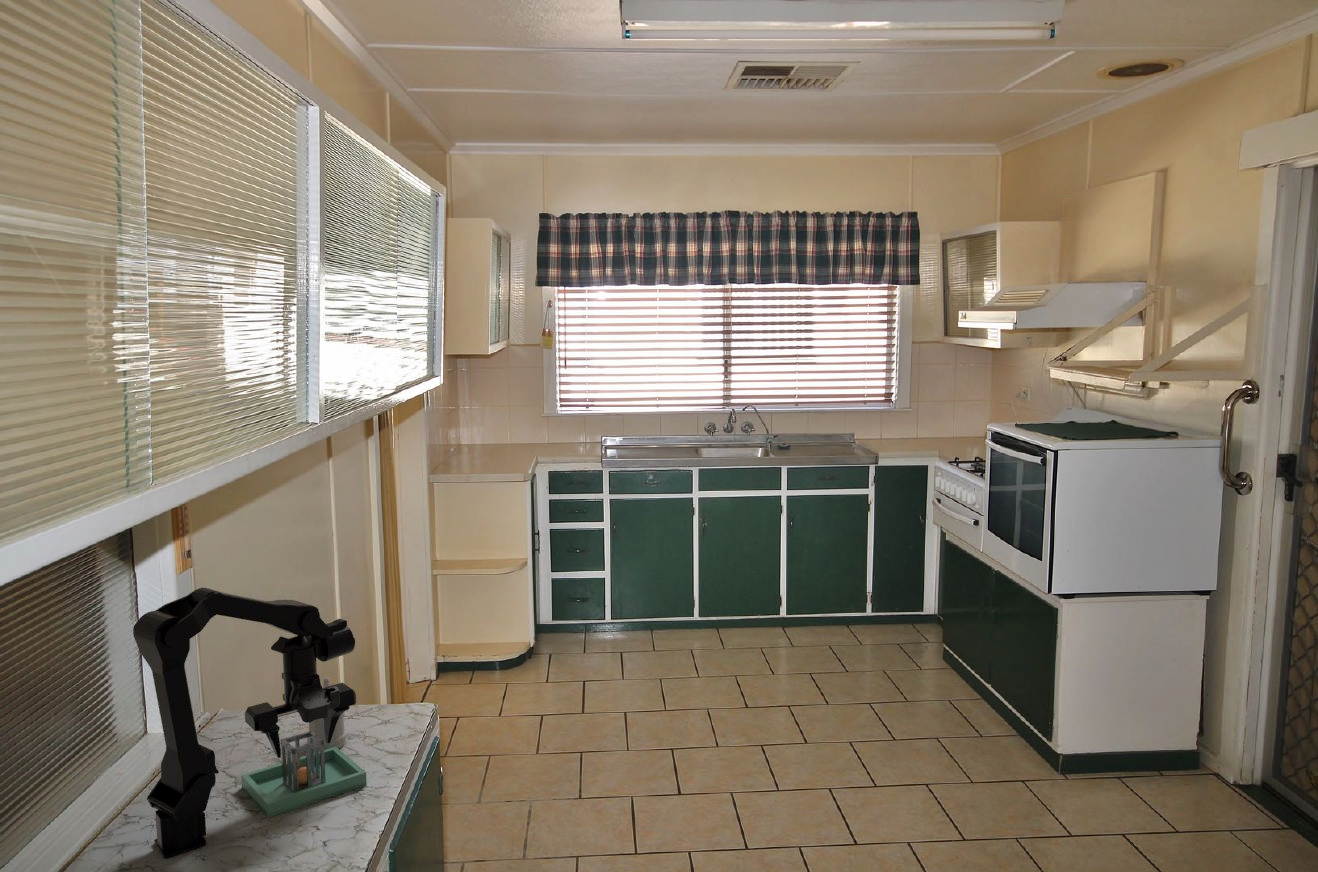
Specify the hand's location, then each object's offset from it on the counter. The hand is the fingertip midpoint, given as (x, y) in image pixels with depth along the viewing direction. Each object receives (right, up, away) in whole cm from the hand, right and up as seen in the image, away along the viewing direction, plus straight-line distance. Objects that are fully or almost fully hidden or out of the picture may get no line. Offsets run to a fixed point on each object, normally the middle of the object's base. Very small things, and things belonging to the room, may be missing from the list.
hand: (303, 749), depth 177 cm
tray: (0, -7, +1) cm, 7 cm away
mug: (-2, -5, +20) cm, 21 cm away
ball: (0, -5, 0) cm, 5 cm away
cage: (0, -7, +1) cm, 7 cm away
